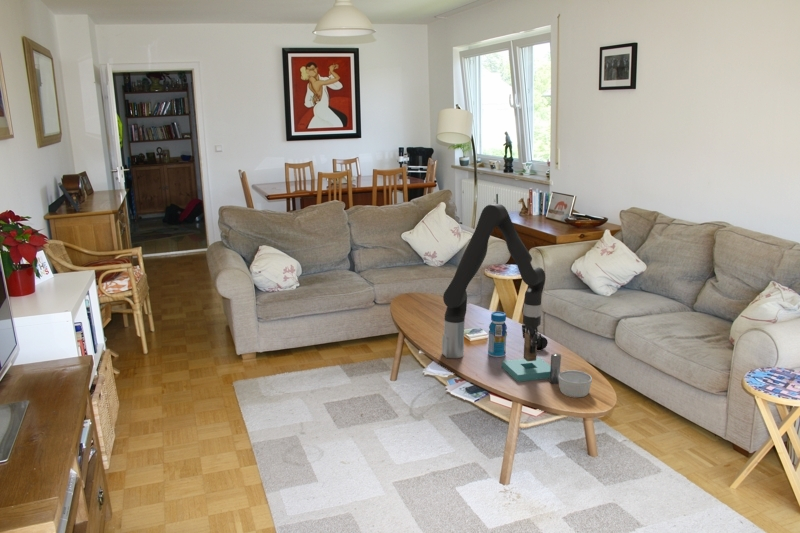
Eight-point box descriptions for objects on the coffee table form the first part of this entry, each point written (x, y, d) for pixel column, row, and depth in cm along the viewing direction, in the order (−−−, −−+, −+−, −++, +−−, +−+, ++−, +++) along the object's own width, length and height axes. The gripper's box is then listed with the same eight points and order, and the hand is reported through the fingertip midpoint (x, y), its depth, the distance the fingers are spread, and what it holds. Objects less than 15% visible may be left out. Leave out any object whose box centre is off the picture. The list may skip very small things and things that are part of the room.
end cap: (547, 350, 318) (548, 336, 316) (533, 351, 316) (534, 338, 314) (537, 343, 327) (538, 330, 325) (524, 344, 325) (524, 331, 323)
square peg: (527, 361, 288) (529, 335, 285) (523, 358, 292) (524, 332, 289) (536, 360, 289) (537, 334, 286) (531, 357, 293) (533, 331, 290)
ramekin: (555, 395, 269) (556, 379, 267) (559, 383, 281) (560, 367, 279) (589, 401, 264) (590, 385, 263) (592, 388, 276) (593, 372, 274)
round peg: (552, 384, 280) (554, 357, 277) (547, 380, 283) (549, 353, 280) (560, 383, 281) (562, 356, 278) (556, 379, 284) (558, 353, 281)
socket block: (517, 381, 282) (517, 375, 281) (502, 367, 297) (502, 360, 296) (556, 377, 286) (556, 370, 286) (538, 363, 301) (539, 357, 301)
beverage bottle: (484, 354, 311) (485, 313, 307) (494, 349, 317) (496, 309, 313) (499, 359, 306) (501, 317, 301) (509, 354, 312) (511, 313, 307)
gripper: (516, 309, 291) (515, 346, 295) (531, 319, 277) (529, 358, 282) (532, 308, 293) (530, 344, 297) (548, 318, 279) (545, 356, 284)
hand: (530, 351), depth 289 cm, fingers closed on square peg, 4 cm apart
